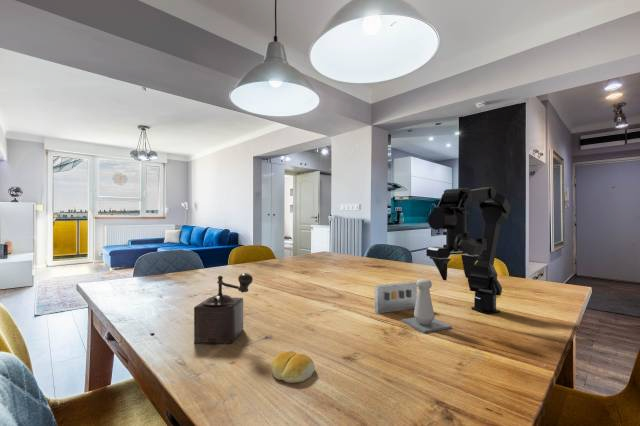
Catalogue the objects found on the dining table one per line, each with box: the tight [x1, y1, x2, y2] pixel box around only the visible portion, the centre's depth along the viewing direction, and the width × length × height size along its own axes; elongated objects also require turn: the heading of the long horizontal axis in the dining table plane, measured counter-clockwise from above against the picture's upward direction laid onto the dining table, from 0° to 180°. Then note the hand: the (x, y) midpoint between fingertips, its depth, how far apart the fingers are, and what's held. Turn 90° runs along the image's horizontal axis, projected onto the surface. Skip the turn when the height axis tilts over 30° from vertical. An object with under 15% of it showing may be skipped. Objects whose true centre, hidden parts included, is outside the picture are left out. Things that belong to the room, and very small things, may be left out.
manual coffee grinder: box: [193, 272, 254, 345], centre depth 83 cm, size 16×11×18 cm
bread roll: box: [270, 350, 316, 384], centre depth 64 cm, size 8×9×4 cm
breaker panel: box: [374, 281, 418, 315], centre depth 104 cm, size 16×3×9 cm, turn 111°
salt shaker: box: [413, 278, 435, 326], centre depth 90 cm, size 6×6×13 cm
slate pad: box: [401, 316, 453, 334], centre depth 91 cm, size 10×10×1 cm
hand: (456, 279), depth 94 cm, fingers open, 9 cm apart
